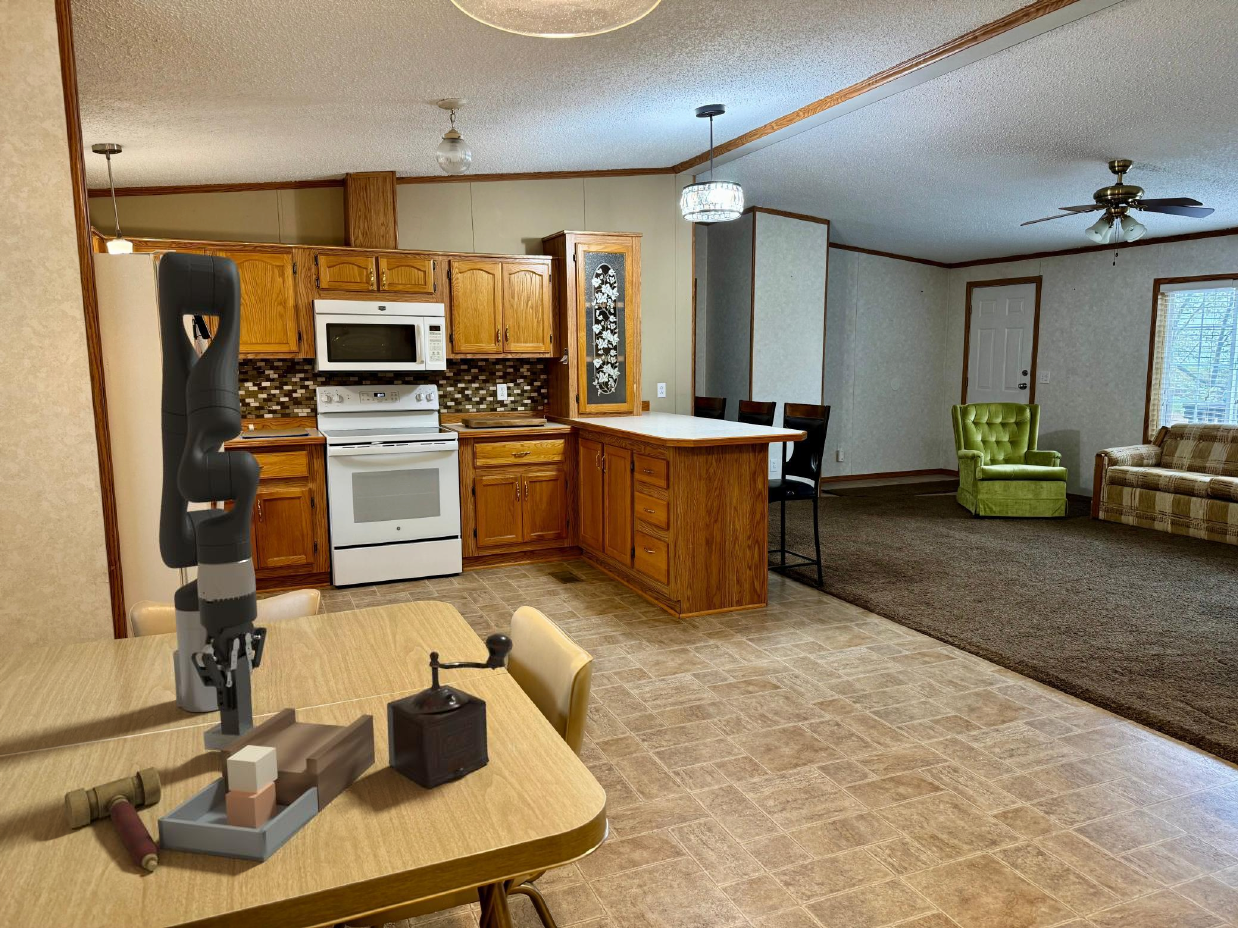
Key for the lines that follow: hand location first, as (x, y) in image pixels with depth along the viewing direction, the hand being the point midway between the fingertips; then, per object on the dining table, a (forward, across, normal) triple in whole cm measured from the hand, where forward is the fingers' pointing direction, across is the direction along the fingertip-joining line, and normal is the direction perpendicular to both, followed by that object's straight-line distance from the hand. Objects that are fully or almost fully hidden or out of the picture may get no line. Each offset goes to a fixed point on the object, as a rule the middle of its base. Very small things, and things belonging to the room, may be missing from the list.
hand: (235, 705), depth 121 cm
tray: (+8, +18, +14) cm, 24 cm away
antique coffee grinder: (+8, -5, +32) cm, 33 cm away
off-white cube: (+3, +15, +14) cm, 21 cm away
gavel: (+8, +22, +1) cm, 23 cm away
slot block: (+8, +5, +14) cm, 17 cm away
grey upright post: (+6, 0, 0) cm, 6 cm away
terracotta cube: (+5, +14, +14) cm, 21 cm away
